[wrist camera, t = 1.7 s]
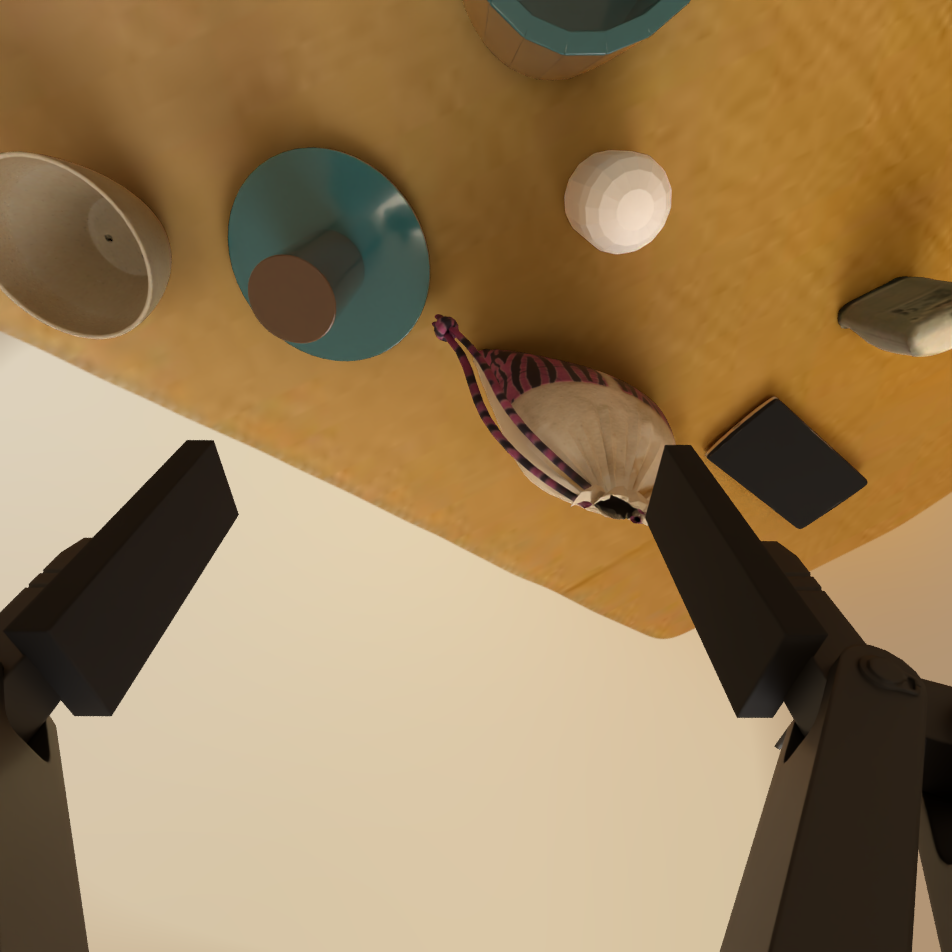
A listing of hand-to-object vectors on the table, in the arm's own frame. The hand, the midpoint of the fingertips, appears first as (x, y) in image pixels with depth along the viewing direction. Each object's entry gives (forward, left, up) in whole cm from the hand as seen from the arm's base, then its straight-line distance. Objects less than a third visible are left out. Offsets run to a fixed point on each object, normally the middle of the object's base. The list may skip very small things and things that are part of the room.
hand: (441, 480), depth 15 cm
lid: (-1, -9, -25) cm, 27 cm away
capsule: (-5, +10, -26) cm, 28 cm away
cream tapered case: (+2, +32, -26) cm, 41 cm away
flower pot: (-3, -23, -26) cm, 35 cm away
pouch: (+9, +9, -26) cm, 29 cm away
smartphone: (+17, +30, -26) cm, 43 cm away
